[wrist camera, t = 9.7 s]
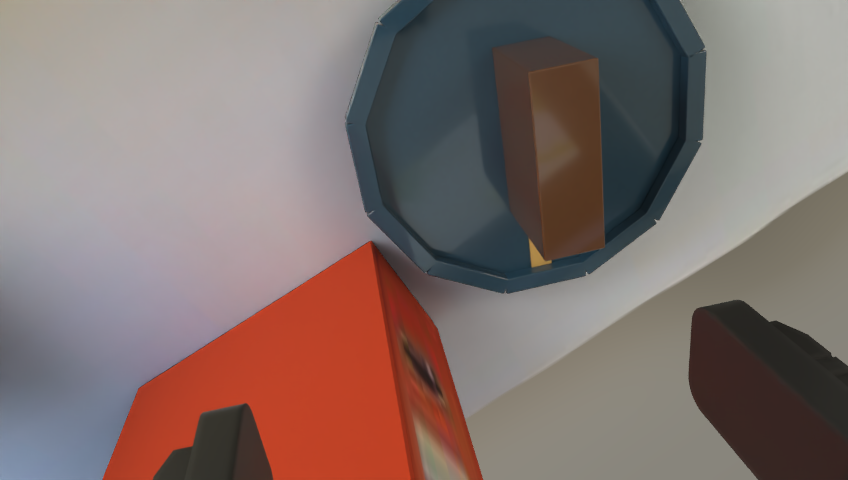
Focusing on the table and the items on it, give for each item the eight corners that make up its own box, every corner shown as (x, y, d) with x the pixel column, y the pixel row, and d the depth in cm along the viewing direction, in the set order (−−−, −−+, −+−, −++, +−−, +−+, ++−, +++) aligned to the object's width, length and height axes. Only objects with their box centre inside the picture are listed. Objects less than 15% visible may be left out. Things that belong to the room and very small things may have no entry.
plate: (310, -29, 29) (309, -17, 23) (695, -102, 30) (790, -109, 24) (387, 306, 37) (401, 378, 31) (684, 239, 39) (752, 296, 33)
